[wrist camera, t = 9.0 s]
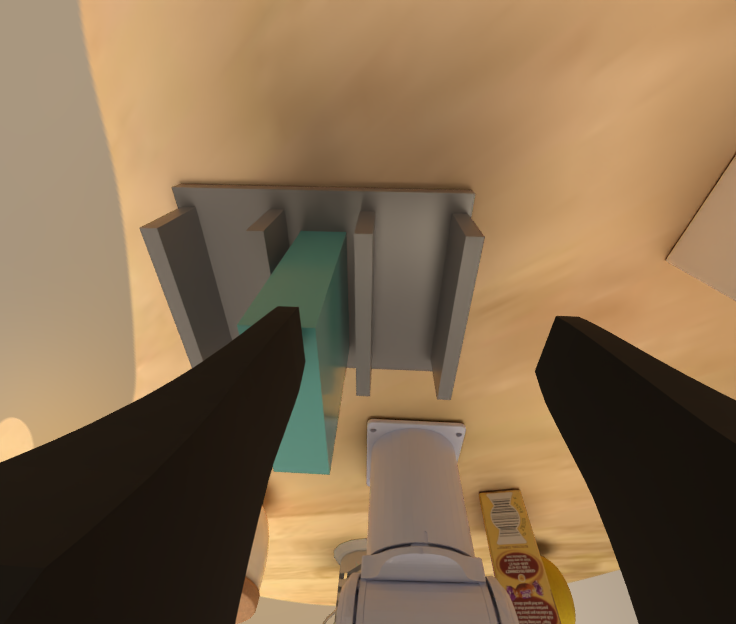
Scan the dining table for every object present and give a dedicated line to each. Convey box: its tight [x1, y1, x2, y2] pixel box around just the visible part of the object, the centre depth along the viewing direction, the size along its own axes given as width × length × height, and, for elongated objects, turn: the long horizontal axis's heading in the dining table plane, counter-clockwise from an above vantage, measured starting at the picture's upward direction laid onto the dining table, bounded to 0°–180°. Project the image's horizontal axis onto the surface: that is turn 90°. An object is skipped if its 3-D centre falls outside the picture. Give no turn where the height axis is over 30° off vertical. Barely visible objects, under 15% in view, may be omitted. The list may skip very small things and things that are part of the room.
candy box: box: [479, 490, 561, 624], centre depth 28 cm, size 9×4×15 cm, turn 18°
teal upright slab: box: [237, 231, 350, 475], centre depth 16 cm, size 8×2×9 cm, turn 0°
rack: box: [140, 184, 485, 400], centre depth 19 cm, size 12×16×4 cm
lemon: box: [541, 556, 575, 624], centre depth 35 cm, size 6×6×8 cm
